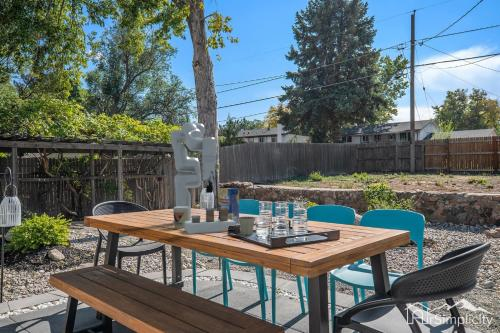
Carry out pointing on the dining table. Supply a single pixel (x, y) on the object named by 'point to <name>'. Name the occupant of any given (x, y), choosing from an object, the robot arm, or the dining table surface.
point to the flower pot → (246, 225)
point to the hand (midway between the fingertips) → (209, 192)
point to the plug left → (195, 219)
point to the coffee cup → (180, 216)
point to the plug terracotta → (223, 213)
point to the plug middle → (210, 214)
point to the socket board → (208, 226)
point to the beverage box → (230, 202)
